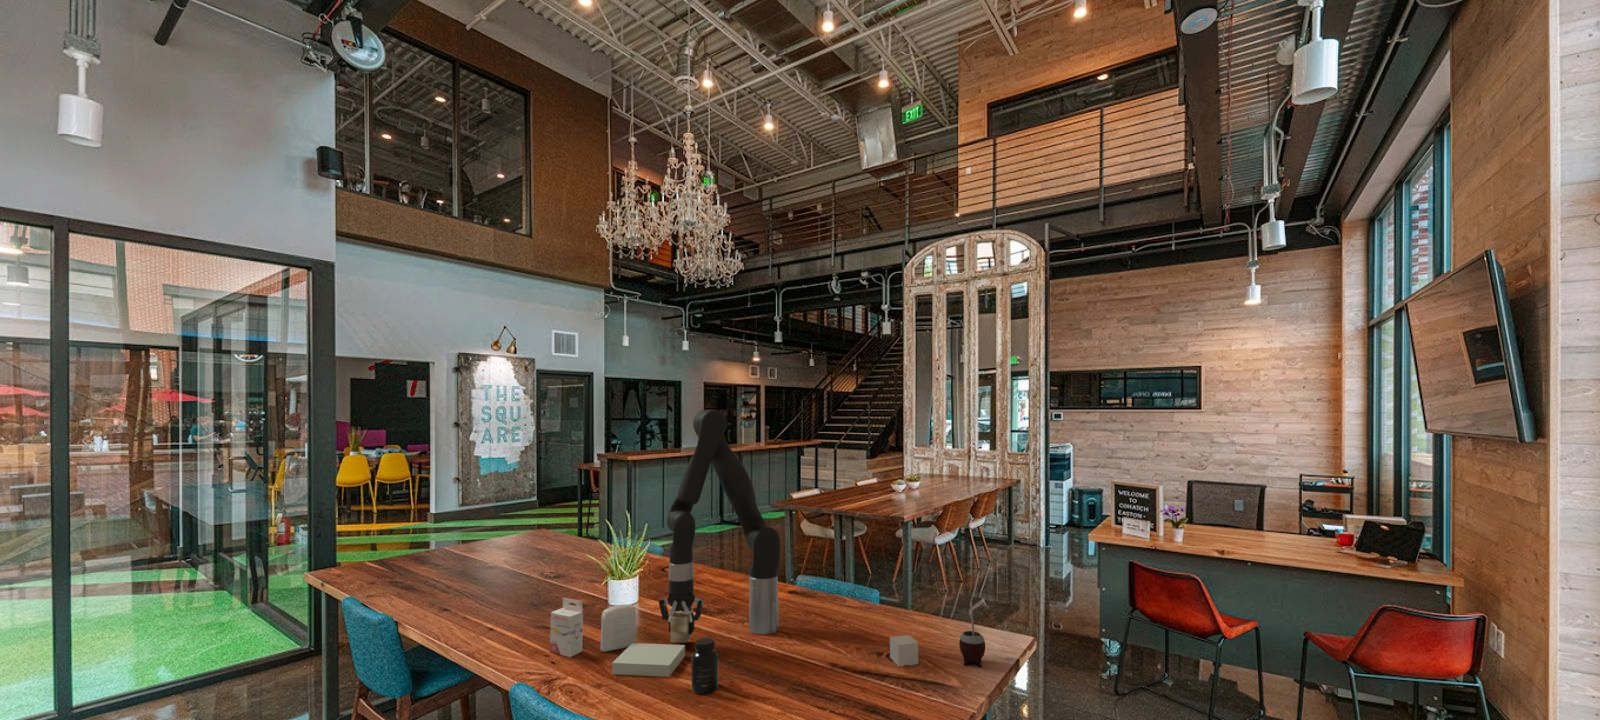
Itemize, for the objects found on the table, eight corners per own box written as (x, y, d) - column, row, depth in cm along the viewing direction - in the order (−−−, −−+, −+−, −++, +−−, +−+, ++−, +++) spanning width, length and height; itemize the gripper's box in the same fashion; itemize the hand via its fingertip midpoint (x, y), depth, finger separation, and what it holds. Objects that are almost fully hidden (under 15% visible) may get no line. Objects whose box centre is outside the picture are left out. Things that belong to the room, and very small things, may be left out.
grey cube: (909, 656, 179) (909, 635, 179) (918, 664, 173) (918, 642, 173) (890, 658, 177) (889, 637, 178) (898, 667, 171) (898, 644, 172)
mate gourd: (972, 670, 169) (970, 614, 170) (952, 660, 176) (951, 606, 177) (992, 665, 172) (990, 610, 173) (972, 655, 179) (971, 602, 180)
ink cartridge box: (548, 652, 182) (549, 601, 184) (561, 646, 187) (562, 597, 188) (570, 657, 179) (571, 605, 180) (583, 651, 183) (584, 600, 184)
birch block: (692, 634, 191) (692, 611, 191) (686, 642, 185) (686, 618, 185) (676, 634, 191) (676, 611, 192) (670, 642, 186) (670, 618, 186)
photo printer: (632, 641, 191) (633, 600, 192) (637, 646, 187) (637, 604, 188) (598, 649, 185) (599, 606, 186) (602, 653, 182) (603, 610, 182)
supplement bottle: (692, 683, 162) (693, 636, 163) (719, 682, 162) (719, 635, 163) (690, 695, 155) (690, 646, 156) (717, 694, 155) (717, 645, 156)
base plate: (685, 655, 180) (685, 645, 180) (669, 676, 166) (669, 665, 166) (632, 653, 181) (632, 643, 182) (612, 674, 168) (612, 662, 168)
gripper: (707, 573, 192) (707, 629, 191) (662, 573, 194) (662, 628, 193) (700, 580, 185) (701, 639, 184) (654, 579, 187) (654, 637, 185)
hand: (681, 633), depth 188 cm, fingers closed on birch block, 5 cm apart
